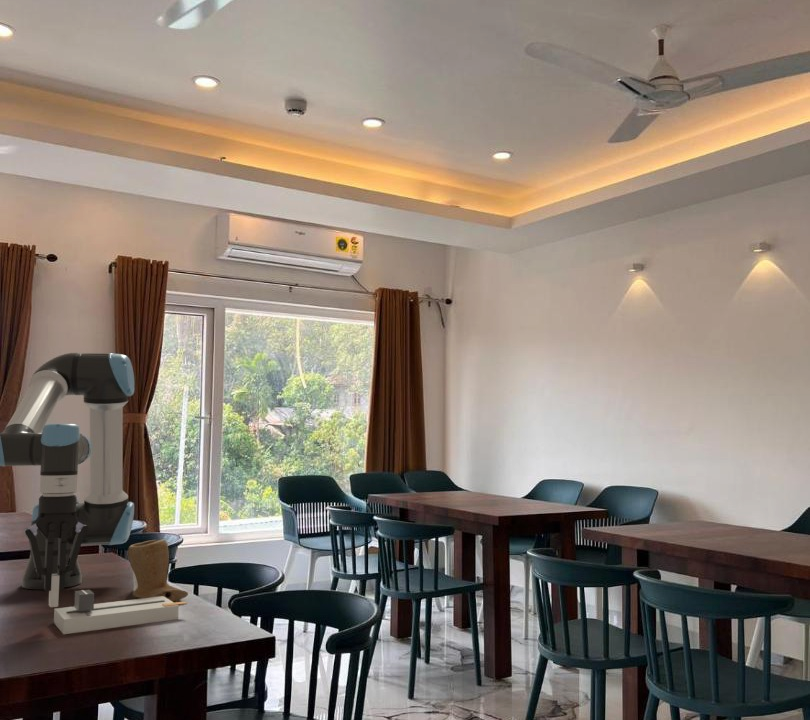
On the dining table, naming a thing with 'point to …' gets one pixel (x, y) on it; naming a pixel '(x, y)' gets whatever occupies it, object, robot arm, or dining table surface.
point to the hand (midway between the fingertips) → (53, 605)
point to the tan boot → (152, 570)
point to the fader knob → (84, 600)
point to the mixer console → (116, 614)
